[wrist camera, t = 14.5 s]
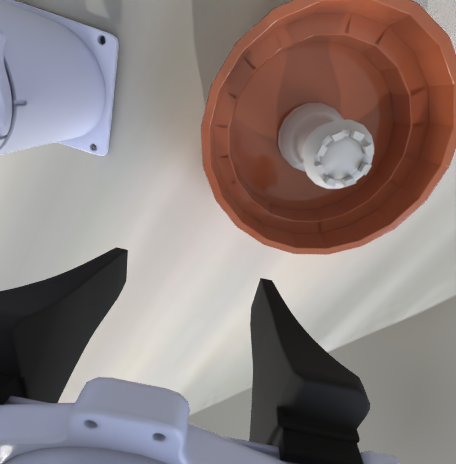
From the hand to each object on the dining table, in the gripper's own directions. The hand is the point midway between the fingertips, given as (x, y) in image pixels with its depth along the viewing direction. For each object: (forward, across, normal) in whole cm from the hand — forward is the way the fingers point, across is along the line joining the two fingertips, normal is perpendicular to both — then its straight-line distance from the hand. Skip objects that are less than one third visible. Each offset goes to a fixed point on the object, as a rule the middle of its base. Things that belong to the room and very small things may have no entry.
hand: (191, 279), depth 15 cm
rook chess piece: (+9, -6, -8) cm, 13 cm away
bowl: (+9, -6, -8) cm, 13 cm away
